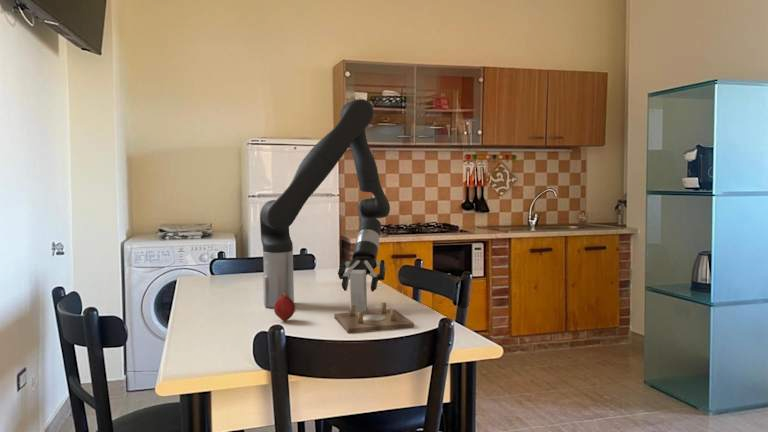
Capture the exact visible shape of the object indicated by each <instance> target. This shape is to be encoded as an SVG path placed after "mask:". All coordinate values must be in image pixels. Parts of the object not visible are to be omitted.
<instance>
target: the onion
mask: <svg viewBox="0 0 768 432" xmlns="http://www.w3.org/2000/svg"><path fill="white" fill-rule="evenodd" d="M295 306H296V305H295V301H294V302H293V301H292V300H291V299H290V298H289V297H288V296H287V295H286V294H285V293H283V294H282V297H280V298H279V299H278V300H277V301H276V303H275V305H274V308H273V312H274V315H276V317H278V318H279V319H280V320H282V321H283V322H287V321H288V320H289V319H290V318H291V317H292V316H293V315H294V314H295V311H296V307H295Z"/></svg>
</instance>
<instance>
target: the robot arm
mask: <svg viewBox="0 0 768 432" xmlns="http://www.w3.org/2000/svg"><path fill="white" fill-rule="evenodd" d="M373 119H374V108H373V105H372V104H371V102H369V101H368V100H366V99H361V98H360V99H359V98H358V99H354V100H351V101H348V102H347V103H346V104H344V105H343V106H342V107H341V110H340V120H339V122H338V123H337V124H336V125H335V127H333V129H331V130H330V131H329V132H328V133H327V134H326V135H325V136H323V138H321V139H320V140H319V141H318V142H317V143H316V144H315V145H314V146H313V147H312V148H311V149H310V151H309V152H308V153H307V154H306V156H305V157H304V158H303V159H302V160H301V163H299V165H298V167H297V170H296V172H295V174H294V176H293V178H292V180H291V182H290V184H289V186H287V188H286V189H285V190H284V191H283V192H282V193H281V195H279V197H277V199H273V200H272V199H271V200H268V201H266V202H265V203H264V204H263V205H262V207H261V209H260V211H259V213H260V214H259V227H260V240H261V241H260V242H261V245H262V255H263V256H262V259H263V275H262V281H263V283H262V284H263V285H262V286H263V305H264V308H273V309H274V305H275V303H276V301H277V300H278V299H279V298H280V297H282V294H283V293H285V294H286V295H287V296H288V297H289V298H290V299H291V300H292V301H293V302H294V303H295V288H294V287H295V285H294V283H295V282H294V251H293V250H294V246H293V241H292V238H291V236H290V227H291V225H292V224H293V223H294V222H295V220H296V219H297V217H298V215H299V213H300V212H301V210H302V209H303V207H304V206H305V204H306V202H307V201H308V199H310V197H311V196H312V195H313V194H314V192H315V191H316V190H317V189H318V188H319V187H320V185H321V184H322V183H323V182H324V181H325V180H326V179H327V177H328V176H329V175H330V173H331V172H332V171H333V169H334V168H335V167H336V166H337V164H338V162H339V161H340V160H341V159H342V158H343V156H344V155H345V153H346V151H347V150H348V148H349V147H350V151H351V155H352V157H353V161H354V166H355V171H356V172H355V173H356V175H357V182H358V186H359V190H360V191H361V192H364V193H371V194H372V195H373V196H374V197H371V198H370V197H369V198H365V199H362V200H361V201H359V203H358V206H357V210H358V218H359V227H358V231H357V232H358V233H357V235H356V239H355V244H354V247H353V248H354V249H353V253H352V257H351V260H350V261H346V260H345V259H344V258H342V260H341V262H340V265H339V269H338V271H337V274H338V278H339V279H340V280H342V282H341V287H342V289H343V292H347V291H348V286H349V283H350V282H349V281H350V273H351V272H352V271H353V270H366V276H368V275H369V276H370V277H371V284H370V291H371V292H375V290H376V289H378V288H377V287H378V282H379V281H384V280H385V276H386V268H387V267H386V262H385V259H381V260H380V261H377V258H378V252H379V249H380V236H381V231H382V223H381V221H380V220H379V219H382V218H386V217H388V216H389V214H390V211H391V207H390V206H391V205H390V203H389V200H388V198H387V196H386V194H385V191H384V190H383V187H382V185H381V180H380V176H379V172H378V171H379V170H378V167H377V162H376V160H375V157H374V155H373V153H372V151H371V149H370V146H369V143H368V139H367V135H366V128H367V127H368V126H369V125H370V124H371V123H372V120H373ZM377 267H378V269H379V273H376V271H375V269H376V268H377ZM346 270H347V271H346Z"/></svg>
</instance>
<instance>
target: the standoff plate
mask: <svg viewBox="0 0 768 432" xmlns="http://www.w3.org/2000/svg"><path fill="white" fill-rule="evenodd" d="M380 305H381V306H380V307H381V309H379V310H366V311H364V312H355V305H351V304H350V305H349V311H350V312H340V313H339V312H338V313H334V314H333V317H334V320H335V321H337V323H338V324H339V325H340V326H341V327H342V328H343V329H344V330H345V332H347V334H354V333H355V334H356V333H367V332H377V331H387V330H388V331H389V330H399V329H412V328H413V329H414V328H415V323H414V322H413V321H412V320H410V319H409V318H407V317H406V316H405V315H403V314H402V313H400V312H399V311H398V310H397V309H395V308H391V309H387V302H381V303H380Z"/></svg>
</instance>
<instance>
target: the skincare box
mask: <svg viewBox="0 0 768 432" xmlns="http://www.w3.org/2000/svg"><path fill="white" fill-rule="evenodd" d="M349 281H350V282H349V284H350V287H349V288H350V305H355V312H364V311H367V309H368V303H367V302H368V296H367V293H368V292H367V275H366V270H353V271H352V272H351V273H350V279H349Z"/></svg>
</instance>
